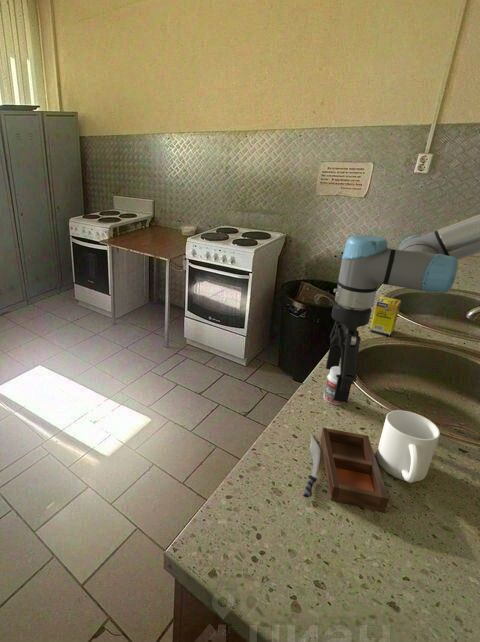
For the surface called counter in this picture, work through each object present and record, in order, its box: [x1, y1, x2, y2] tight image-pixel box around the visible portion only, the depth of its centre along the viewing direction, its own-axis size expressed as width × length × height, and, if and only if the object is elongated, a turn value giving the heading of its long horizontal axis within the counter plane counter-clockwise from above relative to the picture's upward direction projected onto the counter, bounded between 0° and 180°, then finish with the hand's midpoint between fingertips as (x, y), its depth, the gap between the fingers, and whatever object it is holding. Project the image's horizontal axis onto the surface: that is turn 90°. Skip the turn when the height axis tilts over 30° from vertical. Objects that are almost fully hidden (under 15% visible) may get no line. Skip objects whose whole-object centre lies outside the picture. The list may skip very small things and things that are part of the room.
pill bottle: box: [322, 365, 345, 406], centre depth 96 cm, size 5×5×8 cm
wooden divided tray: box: [319, 427, 390, 514], centre depth 76 cm, size 8×16×3 cm, turn 161°
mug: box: [376, 409, 441, 484], centre depth 74 cm, size 12×8×10 cm
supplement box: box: [369, 295, 402, 336], centre depth 128 cm, size 6×6×11 cm
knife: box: [302, 432, 321, 498], centre depth 79 cm, size 19×2×1 cm, turn 152°
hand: (335, 383), depth 96 cm, fingers open, 13 cm apart
